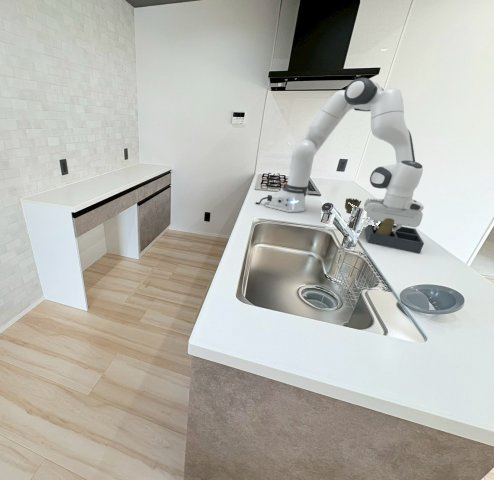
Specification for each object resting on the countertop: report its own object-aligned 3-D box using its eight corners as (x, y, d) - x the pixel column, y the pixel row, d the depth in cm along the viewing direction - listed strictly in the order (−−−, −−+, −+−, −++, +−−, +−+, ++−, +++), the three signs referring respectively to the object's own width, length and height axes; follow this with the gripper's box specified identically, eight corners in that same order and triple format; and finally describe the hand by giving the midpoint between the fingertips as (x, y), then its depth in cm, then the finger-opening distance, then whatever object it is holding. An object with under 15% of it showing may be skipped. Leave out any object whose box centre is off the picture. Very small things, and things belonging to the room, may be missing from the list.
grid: (367, 242, 115) (371, 233, 113) (365, 229, 129) (368, 220, 127) (419, 253, 107) (424, 243, 105) (411, 237, 121) (415, 228, 119)
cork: (391, 243, 113) (401, 220, 109) (375, 241, 115) (385, 218, 110) (384, 237, 119) (393, 215, 114) (369, 235, 120) (378, 213, 115)
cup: (359, 215, 147) (364, 202, 143) (346, 215, 147) (351, 201, 143) (351, 211, 154) (356, 198, 150) (339, 210, 154) (343, 197, 150)
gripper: (367, 199, 111) (356, 228, 117) (429, 207, 102) (414, 239, 108) (366, 195, 116) (356, 224, 122) (425, 203, 106) (411, 234, 113)
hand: (383, 231), depth 115 cm, fingers closed on cork, 4 cm apart
